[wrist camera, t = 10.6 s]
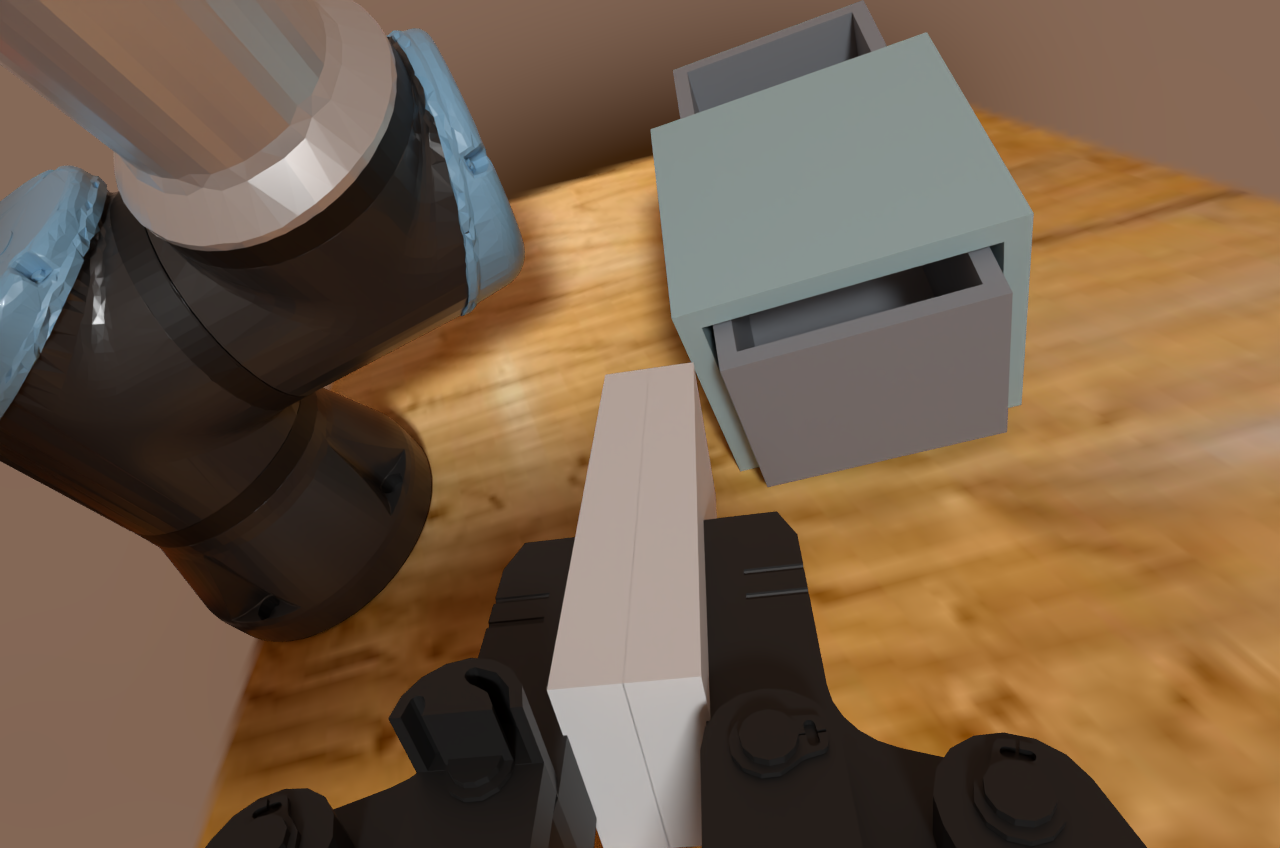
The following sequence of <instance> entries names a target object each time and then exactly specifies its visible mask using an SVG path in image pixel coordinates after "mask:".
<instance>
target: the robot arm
mask: <svg viewBox="0 0 1280 848" xmlns="http://www.w3.org/2000/svg"><path fill="white" fill-rule="evenodd" d="M0 65H2V66H3V67H4V68H6V69H7V70H8V71H10V72H11V73H12V74H13V75H15V76H16V77H17V78H19V79H20V80H22V81H23V82H24V83H25V84H27V85H28V86H29V87H30V88H32V89H33V90H34V91H36V92H37V93H38V94H40V95H41V96H42V97H44V98H45V99H46V100H48V101H49V102H50V103H51V104H53V105H54V106H55V107H57V108H58V109H59V110H61V111H62V112H63V113H65V114H66V115H67V116H69V117H70V118H71V119H72V120H74V121H75V122H76V123H78V124H79V125H80V126H82V127H83V128H84V129H85V130H87V131H88V132H89V133H91V134H92V135H94V136H95V137H96V138H98V139H99V140H100V141H101V142H102V143H104V144H105V145H107V146H108V147H109V148H110V149H112V150H113V151H114V172H115V177H116V182H117V187H118V189H119V191H118V192H115V193H110V192H109V191H108V190H107V185H106V184H105V182H104V181H103V180H102V179H101V178H100V177H99V176H93V175H91V174H89V173H88V172H86V171H84V170H82V169H80V168H78V167H74V166H61V167H58V168H57V169H56V170H48V171H45V172H43V173H41V174H39V175H38V176H36V177H34V178H32V179H30V180H29V181H27V182H26V183H24V184H23V185H21V186H20V187H19V188H17V189H16V190H15V191H13V192H12V193H11V194H9V195H8V196H7V197H5V198H4V199H3V200H2V201H0V461H1V462H3V463H5V464H7V465H9V466H10V467H12V468H14V469H16V470H18V471H20V472H22V473H23V474H25V475H27V476H29V477H31V478H33V479H35V480H36V481H38V482H40V483H42V484H44V485H46V486H48V487H49V488H51V489H53V490H55V491H57V492H59V493H61V494H62V495H64V496H66V497H68V498H70V499H72V500H74V501H75V502H77V503H79V504H81V505H83V506H85V507H87V508H89V509H90V510H92V511H94V512H96V513H98V514H100V515H101V516H103V517H105V518H107V519H109V520H111V521H113V522H114V523H116V524H118V525H120V526H122V527H124V528H126V529H127V530H129V531H132V532H134V533H135V534H137V535H139V536H141V537H142V538H144V539H146V540H148V541H150V542H151V543H153V544H155V545H156V546H158V547H159V548H161V550H162V551H163V552H164V553H165V555H166V556H167V557H168V558H169V560H170V561H171V562H172V563H173V565H174V566H175V567H176V568H177V570H178V571H179V572H180V573H181V575H182V576H183V577H184V579H185V580H186V581H187V582H188V584H189V585H190V586H191V587H192V589H193V590H194V591H195V593H196V594H197V595H198V596H199V598H200V599H201V600H202V601H203V603H204V604H205V605H206V607H207V608H208V609H209V610H210V611H211V612H212V613H213V614H214V615H216V616H217V617H218V618H219V619H221V620H222V621H224V622H225V623H227V624H229V625H231V626H233V627H235V628H237V629H239V630H240V631H243V632H244V633H246V634H248V635H250V636H252V637H255V638H258V639H261V640H266V641H274V642H284V641H293V640H299V639H303V638H306V637H310V636H313V635H316V634H318V633H321V632H323V631H325V630H327V629H329V628H331V627H333V626H335V625H337V624H339V623H341V622H342V621H344V620H345V619H347V618H348V617H350V616H351V615H353V614H354V613H356V612H357V611H358V610H360V609H361V608H362V607H363V606H365V605H366V604H367V603H368V602H369V601H370V600H372V599H373V598H374V597H375V596H376V595H377V594H378V593H379V592H380V591H381V590H382V589H383V588H384V587H385V586H386V585H387V583H388V582H389V581H390V580H391V579H392V578H393V576H394V575H395V574H396V573H397V571H398V570H399V569H400V567H401V566H402V565H403V563H404V562H405V560H406V559H407V557H408V555H409V554H410V552H411V550H412V549H413V547H414V545H415V543H416V541H417V539H418V537H419V535H420V532H421V530H422V528H423V525H424V522H425V519H426V516H427V512H428V508H429V504H430V498H431V473H430V468H429V464H428V461H427V458H426V456H425V454H424V452H423V450H422V449H421V447H420V446H419V445H418V443H417V442H416V441H415V440H414V439H413V438H412V437H411V436H410V435H409V434H408V433H407V432H406V431H405V430H404V429H403V428H402V427H401V426H400V425H399V424H398V423H397V422H395V421H394V420H393V419H391V418H390V417H388V416H386V415H385V414H383V413H381V412H378V411H376V410H374V409H371V408H369V407H367V406H364V405H362V404H360V403H357V402H355V401H353V400H350V399H348V398H346V397H343V396H341V395H339V394H336V393H334V392H332V391H329V390H327V389H325V388H323V387H325V386H327V385H329V384H331V383H332V382H334V381H336V380H338V379H340V378H342V377H344V376H346V375H348V374H350V373H352V372H353V371H355V370H357V369H359V368H361V367H363V366H365V365H367V364H369V363H371V362H373V361H374V360H376V359H378V358H380V357H382V356H384V355H386V354H388V353H390V352H392V351H394V350H395V349H397V348H399V347H401V346H403V345H405V344H407V343H409V342H411V341H413V340H415V339H416V338H418V337H420V336H422V335H424V334H426V333H428V332H430V331H432V330H434V329H436V328H437V327H439V326H441V325H443V324H445V323H447V322H449V321H451V320H453V319H455V318H457V317H458V316H460V315H461V316H464V315H466V314H468V313H470V312H471V311H472V310H473V309H474V308H475V306H476V305H477V303H479V302H480V301H482V300H484V299H485V298H487V297H488V296H490V295H492V294H493V293H495V292H497V291H498V290H500V289H501V288H503V287H505V286H506V285H508V284H509V283H511V282H512V281H513V280H514V279H515V278H516V277H517V276H518V274H519V273H520V271H521V269H522V266H523V263H524V258H525V249H524V243H523V239H522V236H521V233H520V230H519V227H518V224H517V222H516V219H515V216H514V214H513V211H512V209H511V206H510V204H509V201H508V199H507V196H506V194H505V192H504V189H503V187H502V185H501V182H500V180H499V178H498V176H497V173H496V171H495V169H494V167H493V165H492V163H491V161H490V159H489V158H488V157H487V155H486V149H485V147H484V145H483V143H482V141H481V138H480V136H479V134H478V131H477V128H476V126H475V123H474V121H473V119H472V117H471V114H470V112H469V110H468V108H467V106H466V104H465V101H464V99H463V97H462V95H461V93H460V91H459V89H458V87H457V85H456V83H455V81H454V79H453V77H452V75H451V73H450V70H449V69H448V67H447V65H446V63H445V61H444V59H443V57H442V55H441V53H440V51H439V50H438V48H437V46H436V44H435V43H434V41H433V40H432V38H431V37H430V35H428V33H426V32H425V31H423V30H421V29H409V30H406V31H392V32H391V33H390V34H389V35H387V36H386V34H385V33H384V31H383V30H382V28H381V27H380V26H379V24H378V23H377V22H376V21H375V20H374V19H373V18H372V17H371V16H370V14H369V13H368V12H367V11H366V10H365V9H364V8H363V7H361V6H360V5H359V4H358V3H356V2H354V1H353V0H0ZM495 599H496V604H494V605H493V608H492V612H491V615H490V619H489V622H488V623H489V628H487V629H486V632H485V636H484V639H483V643H482V646H481V649H480V653H479V656H478V658H469V659H465V660H461V661H457V662H453V663H449V664H445V665H444V666H442V667H440V668H438V669H436V670H434V671H433V672H431V673H429V674H427V675H425V676H423V677H422V678H421V679H420V680H418V681H417V682H416V683H415V684H414V685H413V686H412V687H411V688H410V689H409V690H408V691H407V692H406V693H404V694H403V695H402V696H401V698H400V700H399V701H398V703H397V705H396V706H395V708H394V710H393V711H392V713H391V715H390V716H389V718H388V719H389V721H390V723H391V725H392V727H393V728H394V730H395V732H396V734H397V736H398V738H399V740H400V742H401V744H402V746H403V748H404V749H405V751H406V753H407V755H408V757H409V759H410V761H411V763H412V765H413V767H414V769H415V770H416V772H417V773H416V774H415V775H414V776H412V777H411V778H410V779H408V780H406V781H404V782H402V783H399V784H397V785H395V786H393V787H391V788H389V789H386V790H384V791H381V792H378V793H376V794H373V795H371V796H368V797H365V798H363V799H360V800H357V801H355V802H352V803H350V804H347V805H344V806H342V807H339V808H336V809H334V810H333V809H332V807H331V806H330V804H329V803H328V801H327V799H326V798H325V797H324V796H322V795H320V794H318V793H316V792H314V791H312V790H310V789H308V788H304V789H284V790H281V791H278V792H276V793H273V794H270V795H268V796H265V797H262V798H260V799H258V800H256V801H255V802H253V803H252V804H251V805H249V806H248V807H246V808H245V809H243V810H242V811H240V812H239V813H237V814H236V815H234V816H233V817H232V818H231V819H230V820H229V821H228V822H227V824H226V825H225V826H224V827H223V828H222V829H221V830H220V831H219V832H218V833H217V834H216V835H215V836H214V837H213V838H212V839H211V841H210V842H209V843H208V845H207V846H206V847H205V848H594V841H595V831H596V829H597V831H598V834H599V837H600V840H601V843H602V845H603V848H677V847H694V846H702V848H1147V847H1146V846H1145V844H1144V843H1143V842H1142V841H1141V839H1140V838H1139V837H1138V836H1137V834H1136V833H1135V832H1134V831H1133V829H1132V828H1131V827H1130V826H1129V824H1128V823H1127V822H1126V820H1125V819H1124V818H1123V817H1122V815H1121V814H1120V813H1119V812H1118V810H1117V809H1116V808H1115V807H1114V805H1113V804H1112V803H1111V802H1110V800H1109V799H1108V798H1107V797H1106V795H1105V794H1104V793H1103V792H1102V790H1101V789H1100V788H1099V786H1098V785H1097V784H1096V783H1095V781H1094V780H1093V779H1092V778H1091V777H1090V776H1089V775H1088V774H1087V773H1086V772H1085V771H1084V770H1082V769H1081V768H1080V767H1079V766H1078V765H1077V764H1076V763H1075V762H1074V761H1073V760H1072V759H1071V758H1070V757H1068V756H1067V755H1066V754H1064V753H1062V752H1060V751H1058V750H1056V749H1054V748H1052V747H1050V746H1048V745H1046V744H1044V743H1042V742H1040V741H1038V740H1037V739H1033V738H1028V737H1023V736H1018V735H1013V734H1008V733H995V734H986V735H976V736H972V737H971V738H969V739H967V740H965V741H963V742H961V743H959V744H957V745H956V746H954V747H952V748H950V750H949V751H948V752H947V754H946V755H945V757H940V756H935V755H930V754H926V753H921V752H917V751H912V750H907V749H903V748H899V747H896V746H893V745H889V744H886V743H883V742H880V741H877V740H876V739H874V738H872V737H870V736H868V735H867V734H865V733H863V732H861V731H860V730H858V729H857V728H856V727H855V726H854V725H852V724H851V723H850V722H849V721H848V720H847V719H846V718H844V717H843V715H842V714H841V713H840V711H839V710H838V708H837V707H836V705H835V704H834V703H833V701H832V698H831V696H830V693H829V690H828V687H827V684H826V679H825V673H824V668H823V663H822V658H821V653H820V648H819V643H818V638H817V633H816V628H815V623H814V617H813V612H812V607H811V602H810V597H809V593H808V587H807V582H806V577H805V572H804V568H803V561H802V556H801V551H800V546H799V541H798V536H797V534H796V532H795V531H794V530H793V529H792V528H791V527H790V526H789V525H788V524H787V522H786V521H785V520H784V519H783V518H782V517H781V516H780V515H779V513H778V512H768V513H759V514H751V515H742V516H734V517H725V518H717V512H716V495H715V488H714V482H713V476H712V470H711V464H710V458H709V452H708V446H707V440H706V434H705V428H704V422H703V416H702V410H701V404H700V398H699V392H698V386H697V380H696V374H695V368H694V362H691V363H684V364H677V365H670V366H663V367H656V368H649V369H642V370H635V371H629V372H622V373H615V374H608V375H605V380H604V385H603V390H602V396H601V401H600V407H599V412H598V417H597V423H596V428H595V433H594V439H593V444H592V450H591V455H590V460H589V466H588V471H587V476H586V482H585V487H584V493H583V498H582V503H581V509H580V514H579V519H578V525H577V530H576V536H575V537H573V538H564V539H556V540H547V541H538V542H530V543H525V544H524V545H523V546H522V548H521V549H520V550H519V551H518V553H517V554H516V555H515V556H514V558H513V559H512V560H511V561H510V563H509V564H508V565H507V566H506V567H505V569H504V571H503V574H502V578H501V581H500V584H499V588H498V591H497V595H496V598H495Z"/></svg>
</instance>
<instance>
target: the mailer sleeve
mask: <svg viewBox="0 0 1280 848" xmlns="http://www.w3.org/2000/svg"><path fill="white" fill-rule="evenodd" d="M651 138H652V147H653V156H654V165H655V174H656V183H657V192H658V201H659V210H660V219H661V228H662V237H663V246H664V255H665V264H666V273H667V282H668V291H669V300H670V309H671V318H672V321H673V323H674V325H675V327H676V329H677V332H678V334H679V336H680V338H681V340H682V343H683V345H684V347H685V349H686V352H687V354H688V356H689V358H690V360H691V362H694V368H695V372H696V374H697V376H698V378H699V380H700V383H701V385H702V387H703V389H704V392H705V394H706V396H707V398H708V400H709V403H710V405H711V407H712V409H713V411H714V414H715V416H716V418H717V420H718V423H719V425H720V427H721V429H722V431H723V434H724V436H725V438H726V440H727V443H728V445H729V447H730V449H731V451H732V454H733V456H734V458H735V460H736V462H737V465H738V467H739V469H740V471H744V470H748V469H753V468H757V467H759V465H758V462H757V460H756V457H755V455H754V453H753V450H752V448H751V445H750V443H749V440H748V438H747V436H746V433H745V431H744V428H743V426H742V423H741V421H740V419H739V416H738V414H737V411H736V409H735V407H734V404H733V402H732V399H731V397H730V394H729V392H728V390H727V387H726V385H725V382H724V380H723V377H722V375H721V373H720V368H719V361H718V355H717V349H716V342H715V336H714V329H713V325H714V324H717V323H721V322H724V321H728V320H731V319H735V318H739V317H742V316H746V315H749V314H753V313H756V312H760V311H763V310H767V309H770V308H774V307H777V306H781V305H784V304H788V303H791V302H795V301H798V300H802V299H805V298H809V297H812V296H816V295H819V294H823V293H826V292H830V291H833V290H837V289H840V288H844V287H847V286H851V285H854V284H858V283H861V282H865V281H868V280H872V279H875V278H879V277H882V276H886V275H890V274H893V273H897V272H900V271H904V270H907V269H911V268H914V267H918V266H921V265H925V264H928V263H932V262H935V261H939V260H942V259H946V258H949V257H953V256H956V255H960V254H963V253H967V252H970V251H974V250H977V249H981V248H984V247H988V246H989V247H990V249H991V251H992V253H993V255H994V257H995V259H996V261H997V263H998V265H999V267H1000V269H1001V271H1002V273H1003V274H1004V276H1005V278H1006V280H1007V282H1008V284H1009V286H1010V288H1011V290H1012V292H1013V299H1012V323H1011V347H1010V371H1009V396H1008V408H1009V407H1014V406H1018V405H1021V403H1022V387H1023V372H1024V356H1025V340H1026V324H1027V309H1028V293H1029V277H1030V261H1031V246H1032V230H1033V214H1034V213H1033V212H1032V210H1031V208H1030V207H1029V205H1028V203H1027V201H1026V200H1025V198H1024V196H1023V195H1022V193H1021V191H1020V190H1019V188H1018V186H1017V184H1016V183H1015V181H1014V179H1013V178H1012V176H1011V174H1010V173H1009V171H1008V169H1007V168H1006V166H1005V164H1004V162H1003V161H1002V159H1001V157H1000V156H999V154H998V152H997V151H996V149H995V147H994V145H993V144H992V142H991V140H990V139H989V137H988V135H987V134H986V132H985V130H984V129H983V127H982V125H981V123H980V122H979V120H978V118H977V117H976V115H975V113H974V112H973V110H972V108H971V106H970V105H969V103H968V101H967V100H966V98H965V96H964V95H963V93H962V91H961V90H960V88H959V86H958V85H957V83H956V81H955V79H954V78H953V76H952V74H951V73H950V71H949V69H948V68H947V66H946V64H945V62H944V61H943V59H942V57H941V56H940V54H939V52H938V50H937V49H936V47H935V46H934V44H933V42H932V40H931V39H930V37H929V35H928V34H927V33H924V34H921V35H918V36H915V37H913V38H909V39H907V40H904V41H901V42H898V43H895V44H892V45H890V46H887V47H884V48H881V49H878V50H875V51H872V52H870V53H867V54H864V55H861V56H858V57H855V58H853V59H850V60H847V61H844V62H841V63H838V64H836V65H833V66H830V67H827V68H824V69H821V70H819V71H816V72H813V73H810V74H807V75H804V76H801V77H799V78H796V79H793V80H790V81H787V82H784V83H782V84H779V85H776V86H773V87H770V88H767V89H765V90H762V91H759V92H756V93H753V94H750V95H747V96H745V97H742V98H739V99H736V100H733V101H730V102H728V103H725V104H722V105H719V106H716V107H713V108H711V109H708V110H705V111H702V112H699V113H696V114H693V115H691V116H688V117H685V118H682V119H679V120H676V121H674V122H671V123H668V124H665V125H662V126H660V127H657V128H654V129H651Z"/></svg>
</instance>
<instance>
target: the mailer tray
mask: <svg viewBox="0 0 1280 848" xmlns="http://www.w3.org/2000/svg"><path fill="white" fill-rule="evenodd" d="M884 47H887V46H886V44H885V42H884V40H883V38H882V36H881V34H880V32H879V30H878V28H877V26H876V24H875V22H874V20H873V18H872V16H871V14H870V12H869V10H868V9H867V6H866V4H865V3H864V1H860V2H857V3H854V4H852V5H849V6H846V7H844V8H841V9H838V10H836V11H833V12H830V13H827V14H825V15H822V16H819V17H816V18H814V19H811V20H808V21H806V22H803V23H800V24H797V25H795V26H792V27H789V28H786V29H784V30H781V31H778V32H776V33H773V34H770V35H768V36H765V37H762V38H759V39H756V40H754V41H751V42H748V43H746V44H743V45H740V46H737V47H735V48H732V49H729V50H727V51H724V52H721V53H719V54H716V55H713V56H710V57H708V58H705V59H702V60H700V61H697V62H694V63H691V64H689V65H686V66H683V67H681V68H678V69H675V70H673V74H674V80H675V86H676V93H677V99H678V106H679V112H680V118H681V119H682V118H685V117H688V116H691V115H693V114H696V113H699V112H702V111H705V110H708V109H711V108H713V107H716V106H719V105H722V104H725V103H728V102H730V101H733V100H736V99H739V98H742V97H745V96H747V95H750V94H753V93H756V92H759V91H762V90H765V89H767V88H770V87H773V86H776V85H779V84H782V83H784V82H787V81H790V80H793V79H796V78H799V77H801V76H804V75H807V74H810V73H813V72H816V71H819V70H821V69H824V68H827V67H830V66H833V65H836V64H838V63H841V62H844V61H847V60H850V59H853V58H855V57H858V56H861V55H864V54H867V53H870V52H872V51H875V50H878V49H881V48H884ZM1012 299H1013V292H1012V290H1011V288H1010V286H1009V284H1008V282H1007V280H1006V278H1005V276H1004V274H1003V273H1002V271H1001V269H1000V267H999V265H998V263H997V261H996V259H995V257H994V255H993V253H992V251H991V249H990V247H989V246H988V247H984V248H981V249H977V250H974V251H970V252H967V253H963V254H960V255H956V256H953V257H949V258H946V259H942V260H939V261H935V262H932V263H928V264H925V265H921V266H918V267H914V268H911V269H907V270H904V271H900V272H897V273H893V274H890V275H886V276H882V277H879V278H875V279H872V280H868V281H865V282H861V283H858V284H854V285H851V286H847V287H844V288H840V289H837V290H833V291H830V292H826V293H823V294H819V295H816V296H812V297H809V298H805V299H802V300H798V301H795V302H791V303H788V304H784V305H781V306H777V307H774V308H770V309H767V310H763V311H760V312H756V313H753V314H749V315H746V316H742V317H739V318H735V319H731V320H728V321H724V322H721V323H717V324H714V325H713V329H714V336H715V342H716V349H717V355H718V361H719V368H720V373H721V375H722V377H723V380H724V382H725V385H726V387H727V390H728V392H729V394H730V397H731V399H732V402H733V404H734V407H735V409H736V411H737V414H738V416H739V419H740V421H741V423H742V426H743V428H744V431H745V433H746V436H747V438H748V440H749V443H750V445H751V448H752V450H753V453H754V455H755V457H756V460H757V462H758V465H759V467H760V470H761V472H762V474H763V477H764V479H765V482H766V484H767V487H771V486H775V485H779V484H784V483H788V482H792V481H797V480H801V479H805V478H810V477H814V476H818V475H823V474H827V473H831V472H836V471H840V470H844V469H849V468H853V467H857V466H862V465H866V464H870V463H875V462H879V461H883V460H888V459H892V458H896V457H901V456H905V455H909V454H914V453H918V452H922V451H927V450H931V449H935V448H940V447H944V446H948V445H953V444H957V443H961V442H966V441H970V440H974V439H979V438H983V437H987V436H992V435H996V434H1001V433H1005V432H1007V420H1008V396H1009V371H1010V347H1011V323H1012Z"/></svg>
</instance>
